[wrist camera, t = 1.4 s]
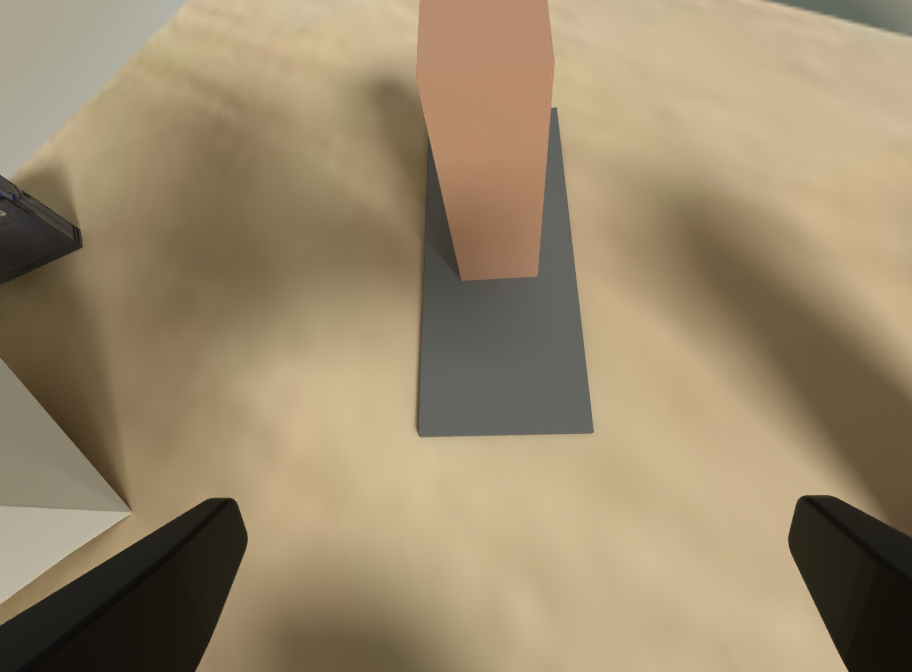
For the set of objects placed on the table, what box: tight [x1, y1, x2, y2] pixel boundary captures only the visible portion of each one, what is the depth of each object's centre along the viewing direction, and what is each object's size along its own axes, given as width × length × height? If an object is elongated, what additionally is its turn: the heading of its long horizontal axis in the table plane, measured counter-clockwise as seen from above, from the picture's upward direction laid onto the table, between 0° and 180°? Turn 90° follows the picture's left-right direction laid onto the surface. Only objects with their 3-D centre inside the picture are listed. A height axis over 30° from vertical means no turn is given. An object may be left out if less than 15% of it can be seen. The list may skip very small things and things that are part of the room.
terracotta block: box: [416, 0, 555, 281], centre depth 19 cm, size 4×4×12 cm
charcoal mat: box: [418, 107, 594, 437], centre depth 25 cm, size 20×8×1 cm, turn 0°
